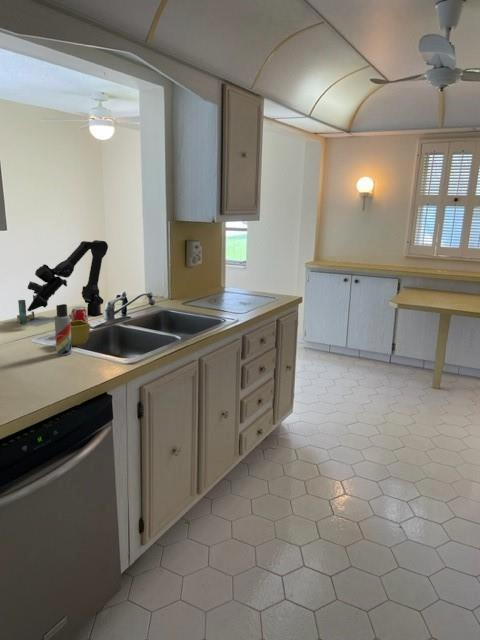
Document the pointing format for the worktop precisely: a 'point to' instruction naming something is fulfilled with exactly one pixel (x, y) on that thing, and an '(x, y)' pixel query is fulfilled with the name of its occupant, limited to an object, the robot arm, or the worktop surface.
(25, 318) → the gate
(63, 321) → the lotion bottle
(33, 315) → the post on square base
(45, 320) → the yard mat
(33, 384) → the worktop surface
